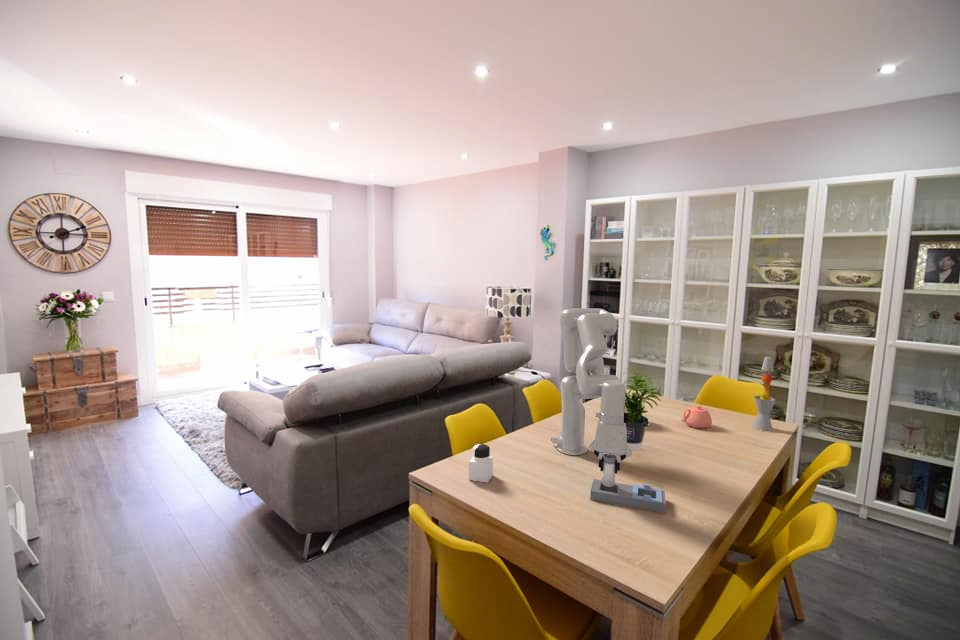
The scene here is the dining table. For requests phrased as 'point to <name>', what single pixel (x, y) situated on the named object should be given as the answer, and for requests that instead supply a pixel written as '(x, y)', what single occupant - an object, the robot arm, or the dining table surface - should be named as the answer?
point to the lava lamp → (764, 400)
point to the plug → (608, 470)
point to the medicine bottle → (481, 464)
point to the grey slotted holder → (629, 495)
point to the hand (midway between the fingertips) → (609, 470)
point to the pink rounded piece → (697, 417)
